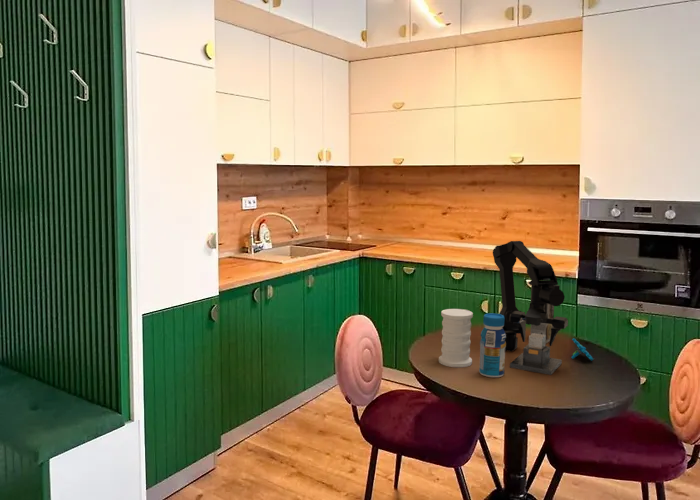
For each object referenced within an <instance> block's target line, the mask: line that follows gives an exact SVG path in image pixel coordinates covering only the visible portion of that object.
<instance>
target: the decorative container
mask: <svg viewBox="0 0 700 500" xmlns="http://www.w3.org/2000/svg"><path fill="white" fill-rule="evenodd" d="M440 314H441V317H442V321H441V325H442V328H441V329H442V330H441V335H442V338H441V349H440V351H441V355H439V356H438V363H439V364H441V365H442V366H445V367H450V368H468V367H470V366H471V365H472V364H473V359H472V357H470V354H471V348H470V347H471V343H472V342H471V335H472V331H471V328H472V321H471V320H472V318H474V317H473V316H474V315H473V314H474V313H473V312H472V311H470V310H468V309H463V308H446V309H443V310H441V313H440Z"/></svg>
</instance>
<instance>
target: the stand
mask: <svg viewBox="0 0 700 500" xmlns="http://www.w3.org/2000/svg"><path fill="white" fill-rule="evenodd" d="M528 345H529V343H528V344H527V345H525V346H524V347H523V350H522V351H523V352H521V354H519V355H518V356H517V357H516V358H515V359H513V360H512V361H511V362H510V363H509V368H511V369H517V370H521V371H527V372H532V373H539V374H542V375H543V374H544V375H549V376H552V375H553V374H554V373H555V372H556V371H557V369H558V368H560V366H561V365H562V359H560V358H559V359H558V358H555V357H554V358H553V357H550V355H551V353H550V352H551V346H547V345H545V349H544V350H543V351H541V350H535V349H529V348H528Z"/></svg>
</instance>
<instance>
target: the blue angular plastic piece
mask: <svg viewBox="0 0 700 500" xmlns="http://www.w3.org/2000/svg"><path fill="white" fill-rule="evenodd" d="M571 341H573V343H574V344H575V345H576V346H577V348H576V350H575V351H574V352H573V353H572V356H571V359H572V360H574V359H576V358H577V357H578V356H579V355H582V354H585V356H586V357H587V358H588V359H589V360H590V361H594V358H593V356H592V355H591V354H590V353H589V352H588V350H586V349H587V348H586V347H585V346H583V345H582V344H580V342H579V341H577V339H576V338H572V339H571Z"/></svg>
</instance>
